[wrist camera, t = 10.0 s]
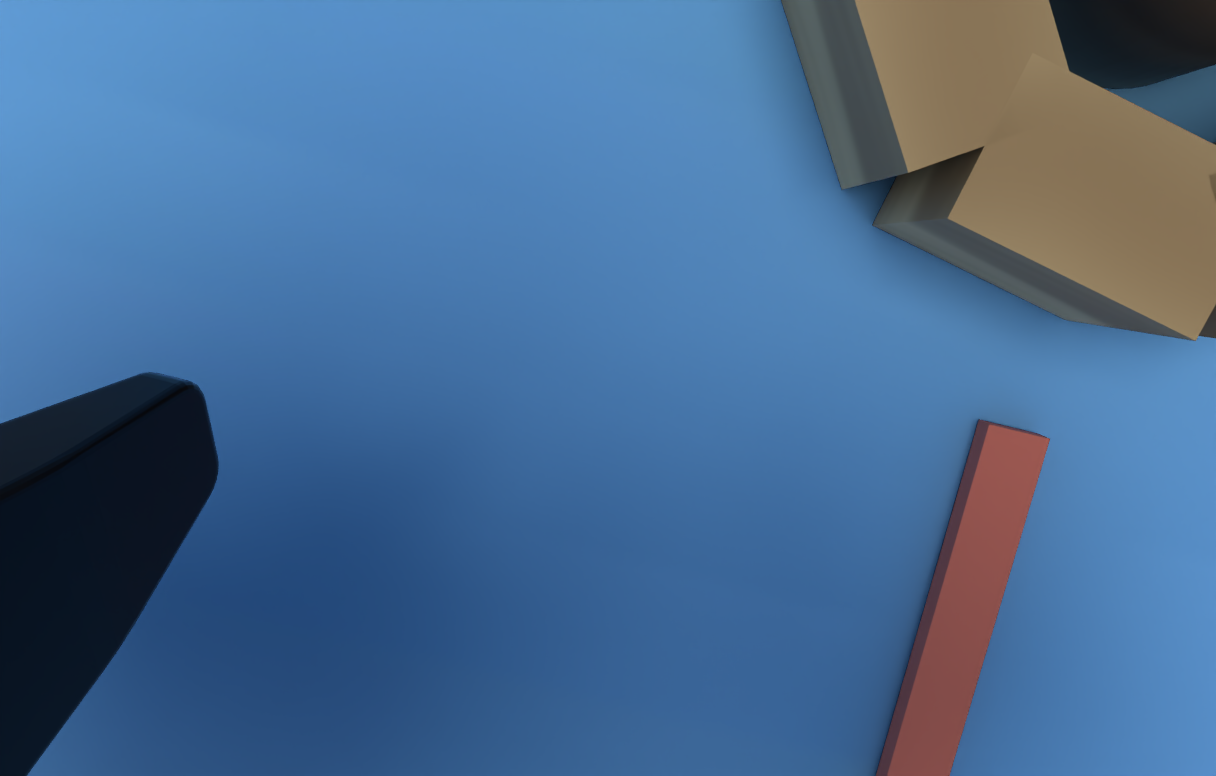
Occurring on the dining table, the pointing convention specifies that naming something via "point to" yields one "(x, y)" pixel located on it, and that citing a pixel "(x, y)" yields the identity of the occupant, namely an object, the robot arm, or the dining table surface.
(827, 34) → the tan segmented ring
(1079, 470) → the dining table surface
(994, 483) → the brick-red rectangular plank
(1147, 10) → the tall brown cylinder
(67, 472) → the robot arm
